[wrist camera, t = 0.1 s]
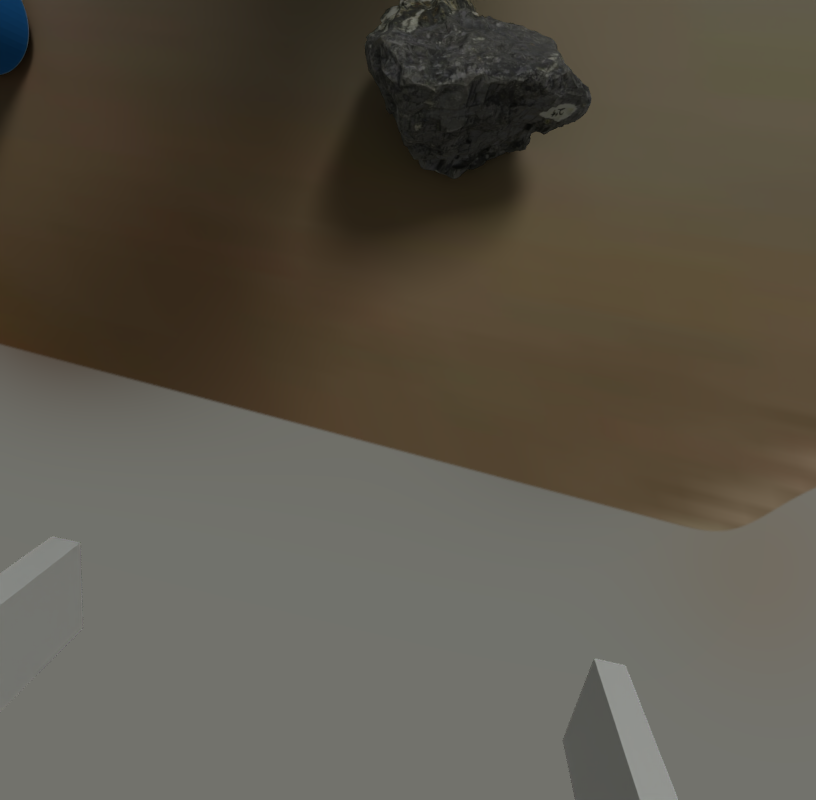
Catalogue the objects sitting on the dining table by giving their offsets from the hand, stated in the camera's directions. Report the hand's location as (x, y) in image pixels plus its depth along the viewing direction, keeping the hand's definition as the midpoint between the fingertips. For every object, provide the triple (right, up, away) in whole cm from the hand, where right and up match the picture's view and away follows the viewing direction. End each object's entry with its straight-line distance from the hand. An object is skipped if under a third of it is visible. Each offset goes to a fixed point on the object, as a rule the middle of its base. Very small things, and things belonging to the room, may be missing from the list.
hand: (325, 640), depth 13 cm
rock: (+6, +27, +21) cm, 34 cm away
